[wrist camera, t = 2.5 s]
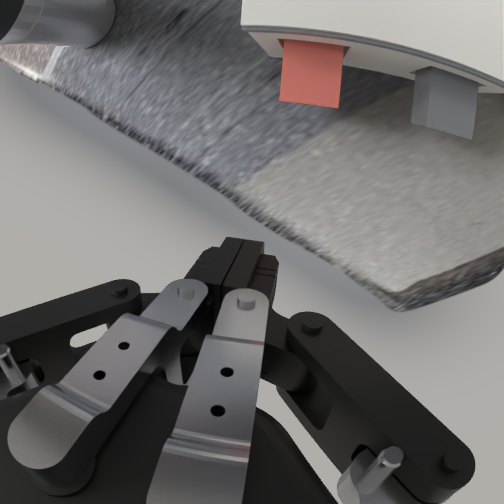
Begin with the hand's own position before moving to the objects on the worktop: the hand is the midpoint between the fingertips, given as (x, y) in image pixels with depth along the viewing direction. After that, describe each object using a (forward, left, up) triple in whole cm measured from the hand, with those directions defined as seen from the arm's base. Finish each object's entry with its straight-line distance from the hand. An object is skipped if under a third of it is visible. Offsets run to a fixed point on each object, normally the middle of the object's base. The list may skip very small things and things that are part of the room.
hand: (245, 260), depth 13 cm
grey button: (+14, +9, -22) cm, 28 cm away
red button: (+1, +10, -21) cm, 24 cm away
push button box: (+8, +16, -27) cm, 32 cm away
